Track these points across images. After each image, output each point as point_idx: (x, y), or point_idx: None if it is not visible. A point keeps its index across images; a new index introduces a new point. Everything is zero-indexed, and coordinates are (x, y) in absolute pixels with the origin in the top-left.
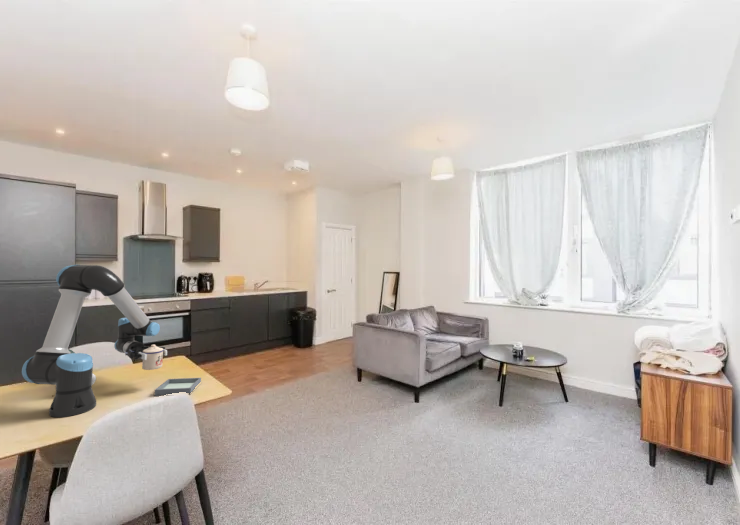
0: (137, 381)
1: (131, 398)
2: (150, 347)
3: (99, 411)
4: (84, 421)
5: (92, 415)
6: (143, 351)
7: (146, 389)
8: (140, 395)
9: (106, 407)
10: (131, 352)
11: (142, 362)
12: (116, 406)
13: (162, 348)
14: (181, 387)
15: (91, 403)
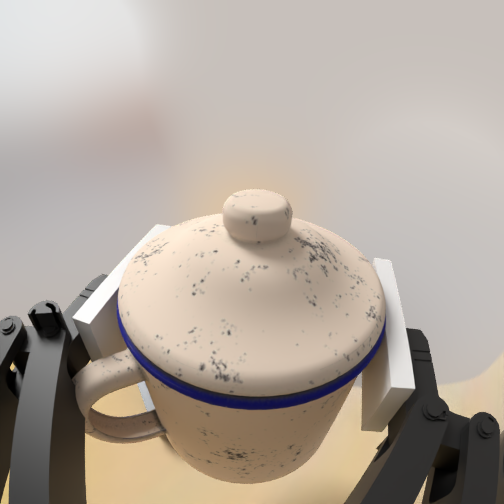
0: None
1: (379, 432)
2: (303, 236)
3: (486, 398)
4: None
5: (500, 383)
6: (384, 303)
7: (262, 484)
8: (336, 433)
9: (467, 415)
10: (477, 488)
11: (334, 419)
12: (443, 397)
13: (167, 229)
14: None
15: None
